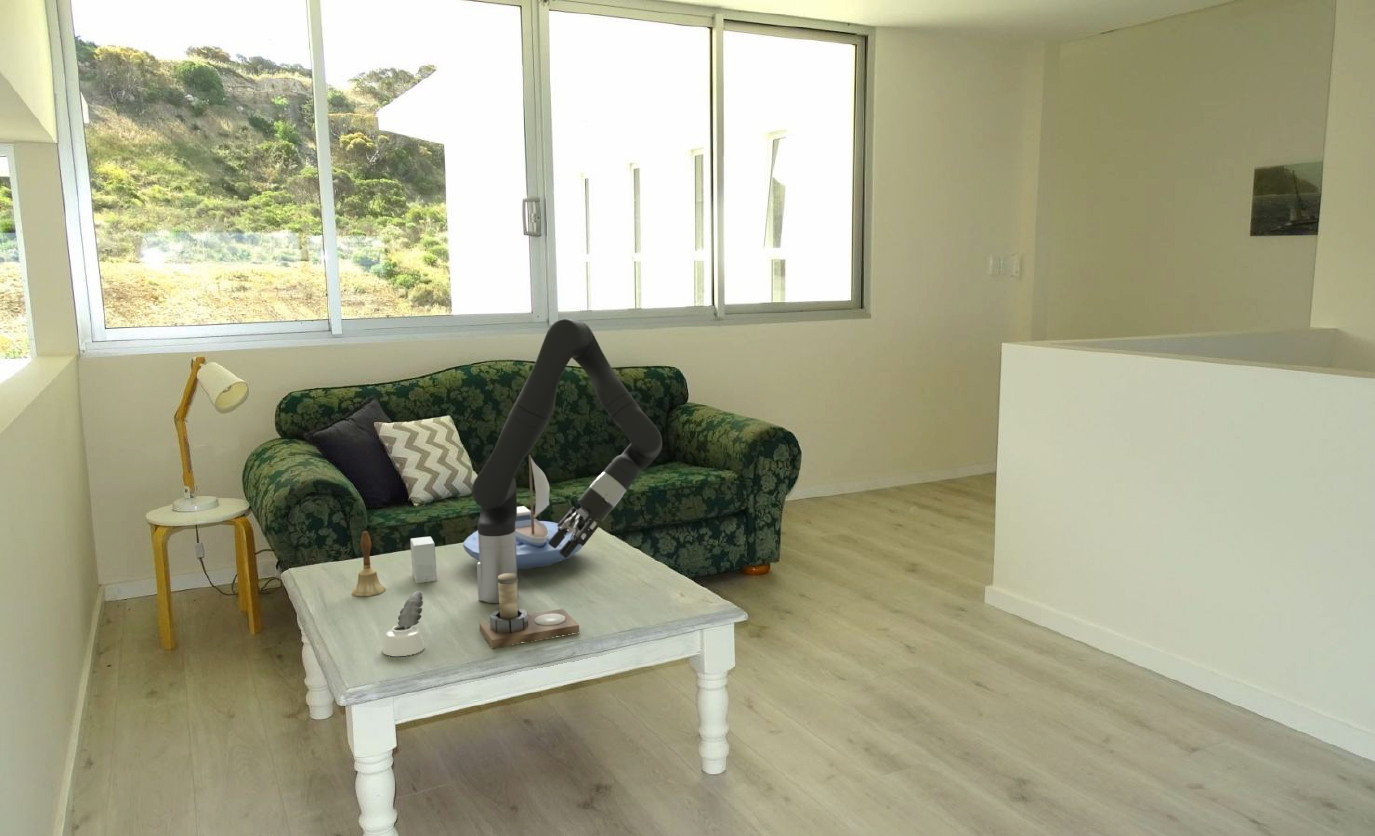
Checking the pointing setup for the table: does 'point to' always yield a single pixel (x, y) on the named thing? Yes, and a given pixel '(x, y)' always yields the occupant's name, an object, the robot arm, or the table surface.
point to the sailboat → (531, 530)
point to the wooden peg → (508, 596)
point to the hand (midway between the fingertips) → (556, 550)
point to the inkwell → (406, 630)
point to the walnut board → (530, 630)
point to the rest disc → (549, 619)
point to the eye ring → (509, 622)
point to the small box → (423, 559)
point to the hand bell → (367, 572)
